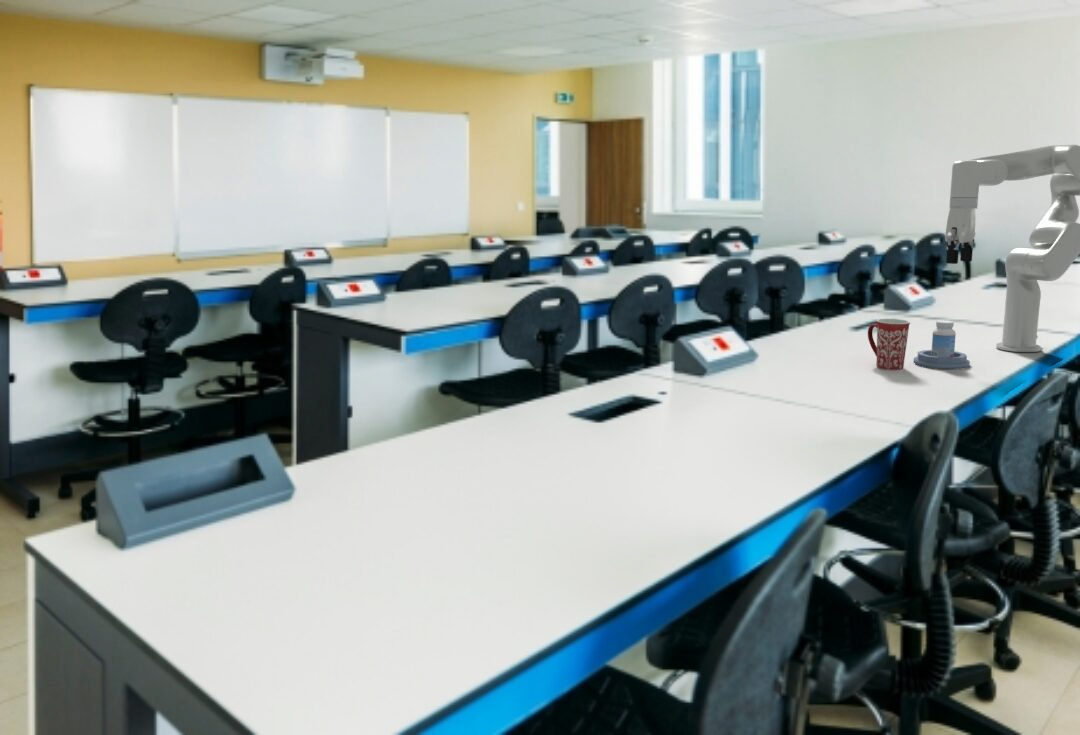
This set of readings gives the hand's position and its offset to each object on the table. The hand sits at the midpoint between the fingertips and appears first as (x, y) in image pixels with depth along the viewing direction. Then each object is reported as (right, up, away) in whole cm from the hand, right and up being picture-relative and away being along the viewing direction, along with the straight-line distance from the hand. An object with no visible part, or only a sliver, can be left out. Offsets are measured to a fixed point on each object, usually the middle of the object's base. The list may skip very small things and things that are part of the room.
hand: (959, 262), depth 279 cm
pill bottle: (-8, -29, -6) cm, 31 cm away
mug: (-25, -31, -8) cm, 41 cm away
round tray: (-8, -30, -6) cm, 32 cm away
